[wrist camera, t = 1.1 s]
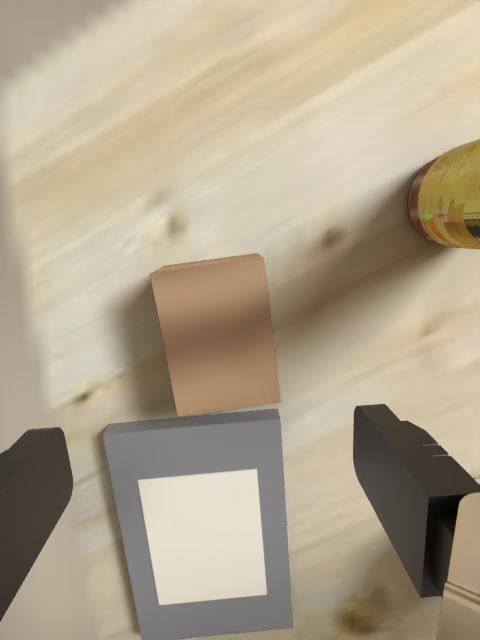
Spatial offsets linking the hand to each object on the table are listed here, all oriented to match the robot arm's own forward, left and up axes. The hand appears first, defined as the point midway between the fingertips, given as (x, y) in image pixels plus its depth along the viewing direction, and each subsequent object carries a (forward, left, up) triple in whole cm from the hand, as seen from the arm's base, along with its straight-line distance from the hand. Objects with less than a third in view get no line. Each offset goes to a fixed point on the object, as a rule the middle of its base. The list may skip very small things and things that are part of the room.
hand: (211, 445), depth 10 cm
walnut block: (0, +1, -17) cm, 17 cm away
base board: (-9, +16, -17) cm, 25 cm away
